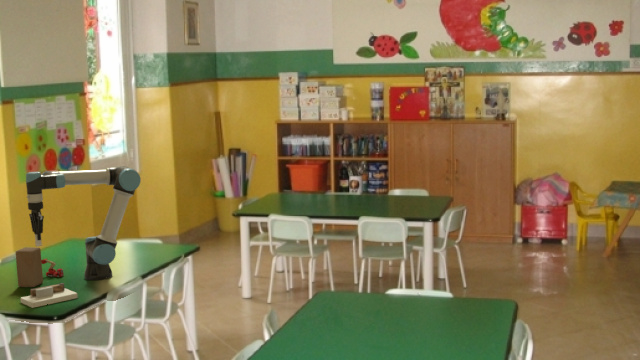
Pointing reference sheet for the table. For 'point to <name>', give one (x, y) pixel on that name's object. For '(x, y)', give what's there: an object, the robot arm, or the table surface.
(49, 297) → the white slotted base
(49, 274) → the toy fire truck
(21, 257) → the block
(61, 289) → the folding leg
